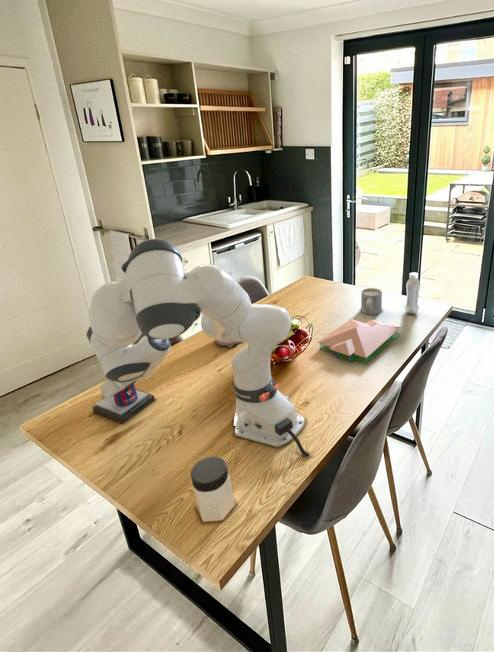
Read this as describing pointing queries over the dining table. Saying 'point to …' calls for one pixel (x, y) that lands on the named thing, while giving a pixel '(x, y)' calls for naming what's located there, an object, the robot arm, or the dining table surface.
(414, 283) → the plastic bottle
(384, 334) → the house
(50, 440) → the dining table surface
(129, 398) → the cup
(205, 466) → the jar
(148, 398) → the scale
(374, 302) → the coffee mug
